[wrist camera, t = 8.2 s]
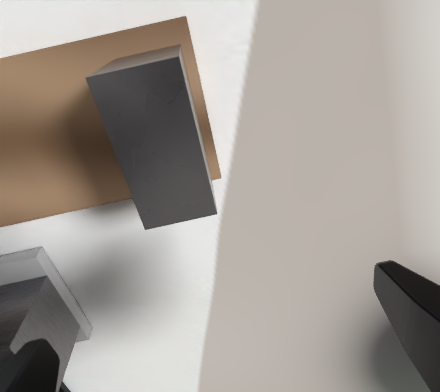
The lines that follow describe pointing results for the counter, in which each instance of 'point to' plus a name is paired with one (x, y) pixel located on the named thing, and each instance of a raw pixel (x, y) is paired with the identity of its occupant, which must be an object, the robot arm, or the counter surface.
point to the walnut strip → (69, 125)
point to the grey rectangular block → (37, 307)
